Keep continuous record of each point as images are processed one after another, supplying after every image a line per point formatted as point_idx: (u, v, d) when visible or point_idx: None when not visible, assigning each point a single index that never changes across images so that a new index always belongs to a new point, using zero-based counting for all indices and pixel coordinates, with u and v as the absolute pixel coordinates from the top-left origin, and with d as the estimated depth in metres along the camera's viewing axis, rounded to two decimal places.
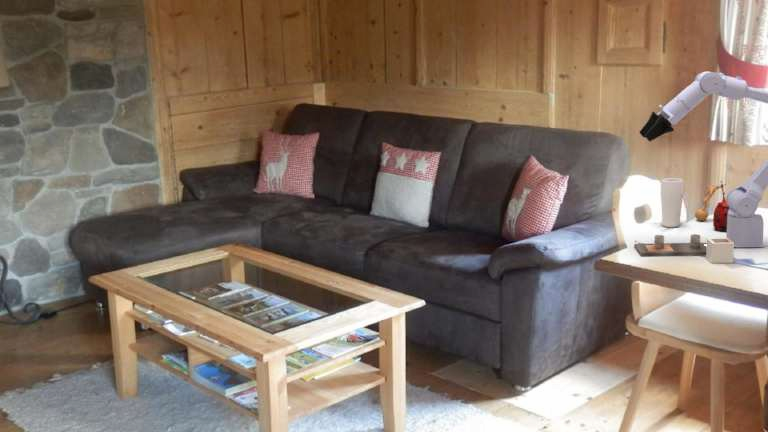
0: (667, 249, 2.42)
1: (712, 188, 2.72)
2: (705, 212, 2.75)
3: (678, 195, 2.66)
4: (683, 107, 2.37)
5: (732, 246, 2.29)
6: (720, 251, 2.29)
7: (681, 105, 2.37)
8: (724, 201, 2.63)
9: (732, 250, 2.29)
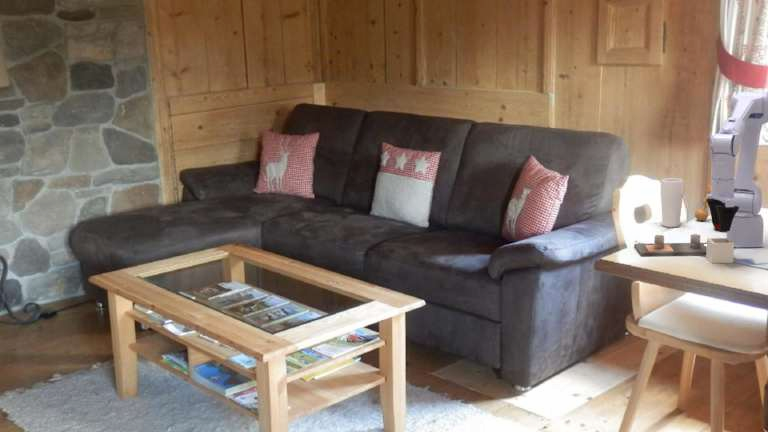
0: (667, 249, 2.42)
1: None
2: (705, 212, 2.75)
3: (678, 195, 2.66)
4: (726, 182, 2.25)
5: (732, 246, 2.29)
6: (720, 251, 2.29)
7: (723, 182, 2.25)
8: None
9: (732, 250, 2.29)
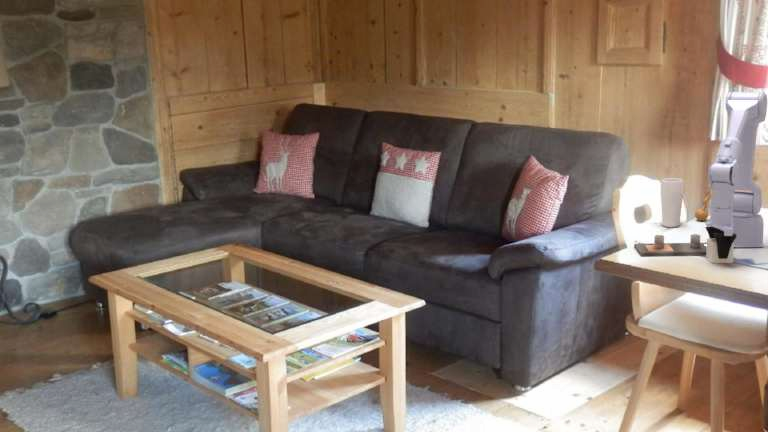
0: (667, 249, 2.42)
1: None
2: (705, 212, 2.75)
3: (678, 195, 2.66)
4: (725, 211, 2.27)
5: (732, 246, 2.29)
6: None
7: (722, 211, 2.27)
8: None
9: (732, 250, 2.29)
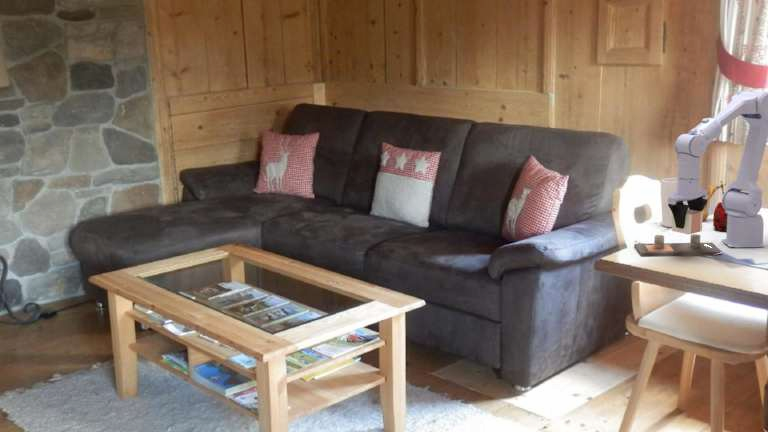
0: (667, 249, 2.42)
1: (712, 188, 2.72)
2: (705, 212, 2.75)
3: None
4: (682, 181, 2.32)
5: (688, 218, 2.33)
6: None
7: (680, 181, 2.33)
8: None
9: (688, 222, 2.33)
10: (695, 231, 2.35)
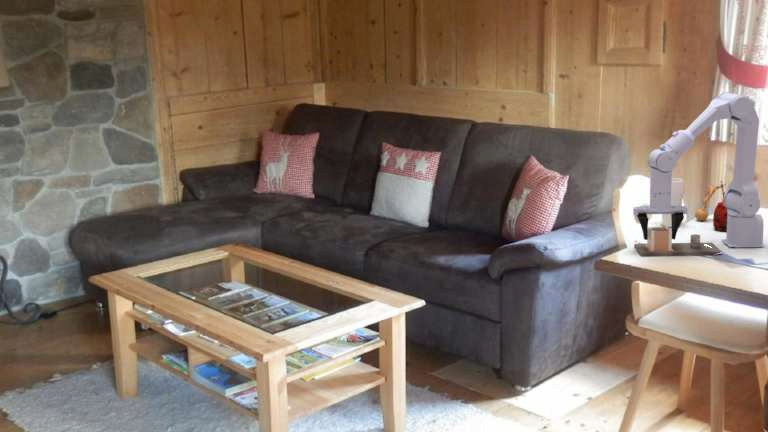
0: None
1: (712, 188, 2.72)
2: (705, 212, 2.75)
3: (678, 195, 2.66)
4: (650, 194, 2.40)
5: (651, 234, 2.40)
6: (648, 237, 2.44)
7: (650, 194, 2.41)
8: None
9: (651, 238, 2.41)
10: (661, 249, 2.41)
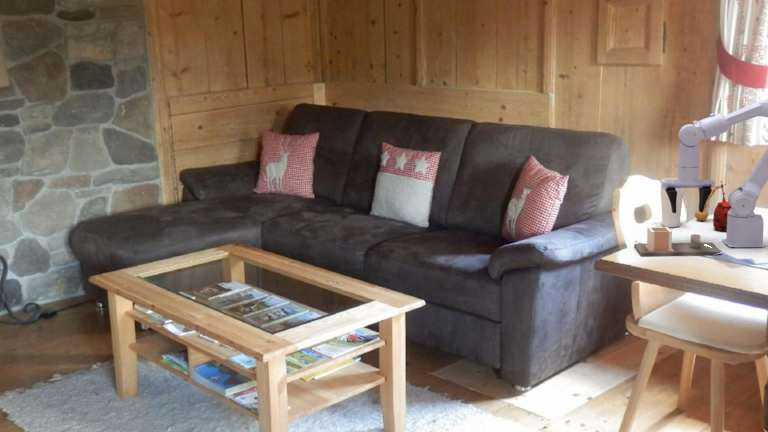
0: None
1: (712, 188, 2.72)
2: (705, 212, 2.75)
3: (678, 195, 2.66)
4: (678, 168, 2.46)
5: (651, 234, 2.40)
6: (648, 237, 2.44)
7: (678, 168, 2.47)
8: (724, 201, 2.63)
9: (651, 238, 2.41)
10: (661, 249, 2.41)
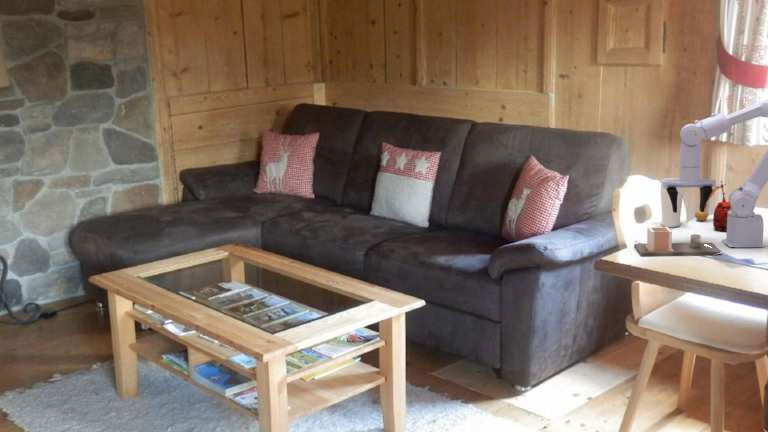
0: None
1: (712, 188, 2.72)
2: (705, 212, 2.75)
3: (678, 195, 2.66)
4: (679, 168, 2.47)
5: (651, 234, 2.40)
6: (648, 237, 2.44)
7: (679, 168, 2.47)
8: (724, 201, 2.63)
9: (651, 238, 2.41)
10: (661, 249, 2.41)
